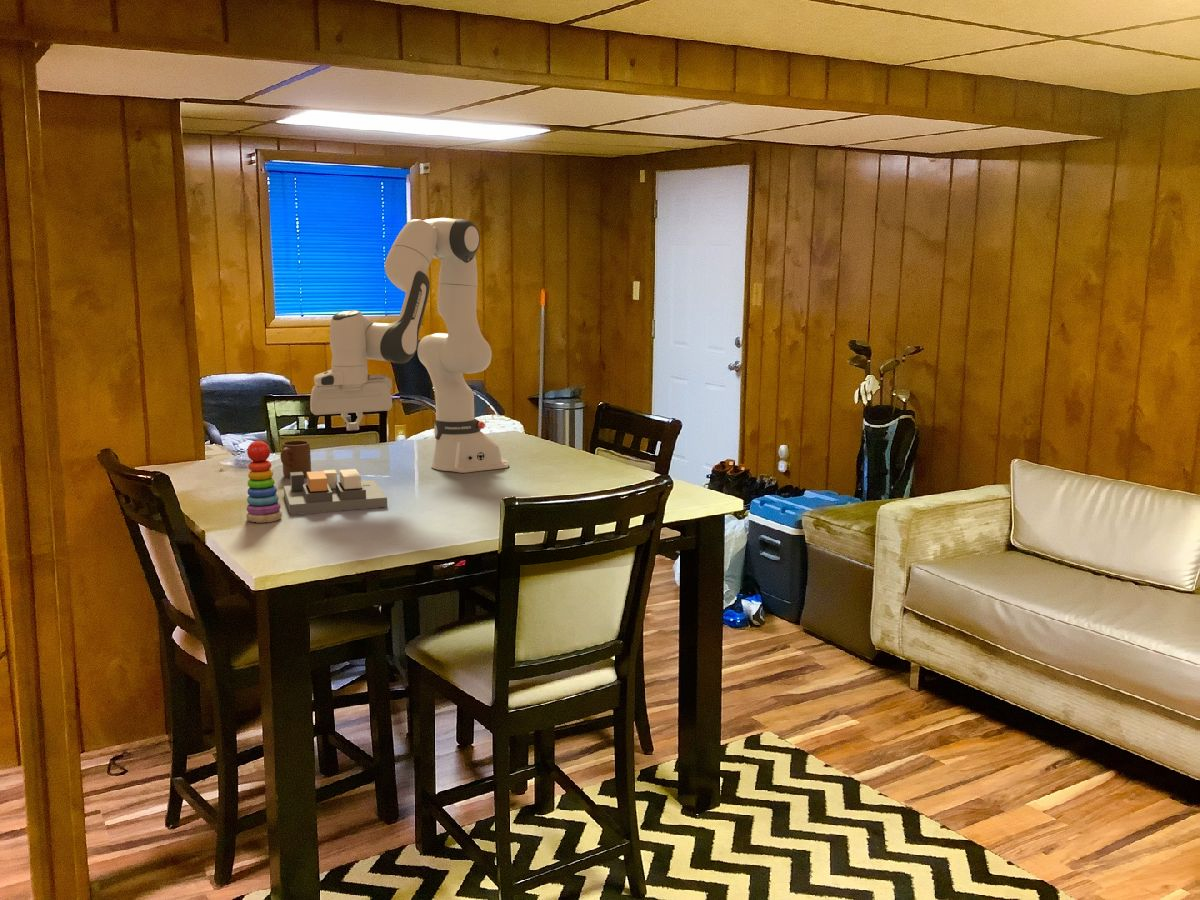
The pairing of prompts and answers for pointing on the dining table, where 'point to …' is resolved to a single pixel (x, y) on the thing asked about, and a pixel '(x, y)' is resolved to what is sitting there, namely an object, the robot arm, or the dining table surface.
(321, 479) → the button
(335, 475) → the slider
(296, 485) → the slider
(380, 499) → the grey base platform
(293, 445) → the mug
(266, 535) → the dining table surface
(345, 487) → the button
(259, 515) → the stacking toy
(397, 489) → the dining table surface
